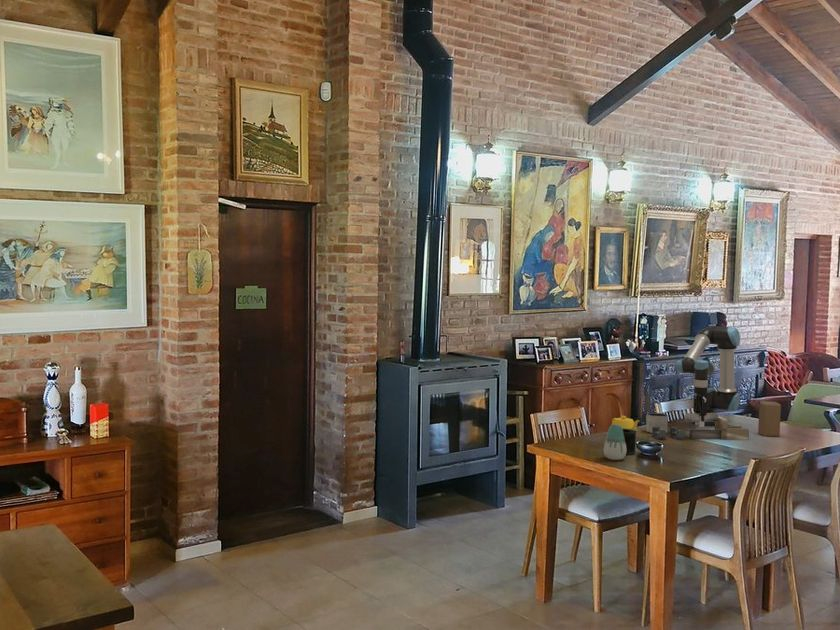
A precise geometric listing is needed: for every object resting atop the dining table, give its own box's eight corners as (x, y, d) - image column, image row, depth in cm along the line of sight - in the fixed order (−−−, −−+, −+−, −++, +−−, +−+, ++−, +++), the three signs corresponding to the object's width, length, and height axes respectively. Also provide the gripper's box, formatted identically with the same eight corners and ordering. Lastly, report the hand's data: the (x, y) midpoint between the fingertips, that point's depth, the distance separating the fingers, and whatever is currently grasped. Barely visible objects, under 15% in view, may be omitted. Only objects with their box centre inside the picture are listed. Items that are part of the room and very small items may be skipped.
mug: (627, 455, 425) (628, 433, 425) (605, 450, 437) (606, 428, 436) (640, 453, 432) (641, 431, 432) (617, 448, 443) (618, 426, 443)
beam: (687, 436, 482) (688, 416, 482) (743, 436, 486) (744, 416, 485) (694, 439, 473) (694, 419, 472) (751, 439, 477) (751, 419, 476)
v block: (651, 436, 481) (652, 426, 481) (676, 436, 482) (676, 427, 482) (659, 439, 470) (659, 430, 470) (683, 439, 472) (684, 430, 471)
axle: (689, 421, 474) (688, 412, 475) (685, 422, 479) (684, 413, 480) (718, 420, 476) (717, 412, 477) (714, 421, 481) (713, 413, 482)
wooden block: (774, 433, 497) (775, 401, 496) (780, 437, 487) (781, 404, 486) (757, 433, 498) (759, 400, 497) (762, 436, 488) (764, 403, 487)
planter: (654, 429, 502) (654, 411, 501) (671, 433, 492) (672, 415, 491) (641, 431, 494) (642, 413, 494) (658, 435, 484) (659, 416, 484)
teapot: (618, 433, 486) (619, 412, 485) (646, 439, 470) (647, 418, 469) (603, 436, 477) (604, 414, 477) (631, 442, 462) (632, 420, 461)
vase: (616, 455, 425) (618, 421, 424) (630, 460, 414) (632, 425, 414) (598, 457, 420) (599, 423, 420) (612, 462, 410) (613, 427, 409)
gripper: (688, 384, 485) (686, 422, 487) (701, 389, 467) (700, 428, 469) (700, 384, 486) (698, 422, 488) (713, 389, 468) (712, 428, 470)
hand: (699, 425), depth 478 cm, fingers closed on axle, 5 cm apart
